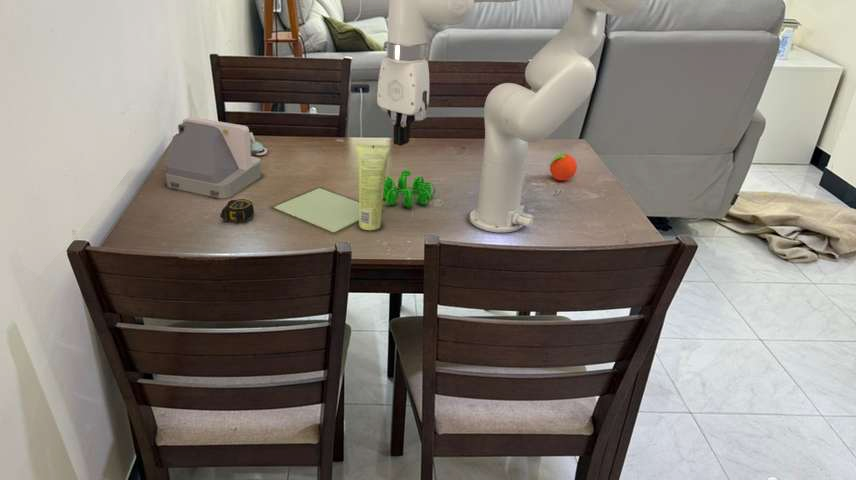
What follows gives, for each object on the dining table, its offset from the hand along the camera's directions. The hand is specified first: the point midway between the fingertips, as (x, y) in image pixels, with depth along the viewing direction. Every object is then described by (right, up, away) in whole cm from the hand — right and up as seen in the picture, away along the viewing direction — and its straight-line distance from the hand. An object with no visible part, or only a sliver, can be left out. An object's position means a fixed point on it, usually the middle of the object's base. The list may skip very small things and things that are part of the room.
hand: (401, 143), depth 139 cm
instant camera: (-47, -2, +38) cm, 60 cm away
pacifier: (-38, +9, +57) cm, 69 cm away
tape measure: (-37, -14, +19) cm, 44 cm away
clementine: (+45, -1, +42) cm, 61 cm away
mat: (-16, -11, +24) cm, 31 cm away
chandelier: (+3, -8, +30) cm, 31 cm away
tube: (-6, -16, +16) cm, 23 cm away
